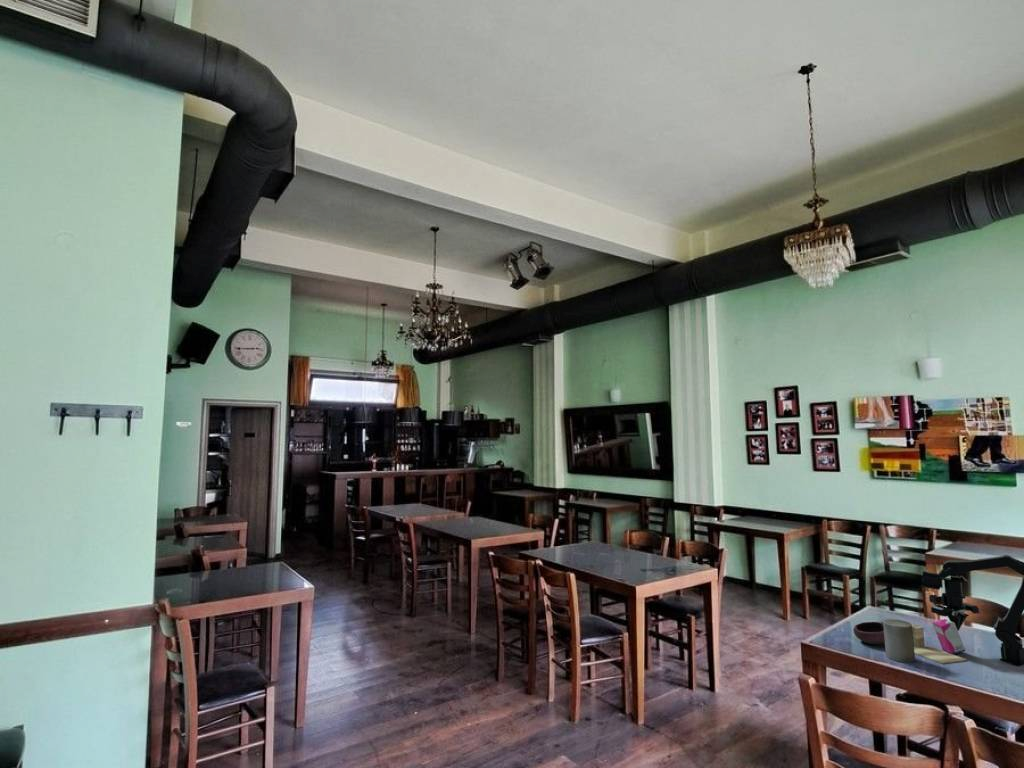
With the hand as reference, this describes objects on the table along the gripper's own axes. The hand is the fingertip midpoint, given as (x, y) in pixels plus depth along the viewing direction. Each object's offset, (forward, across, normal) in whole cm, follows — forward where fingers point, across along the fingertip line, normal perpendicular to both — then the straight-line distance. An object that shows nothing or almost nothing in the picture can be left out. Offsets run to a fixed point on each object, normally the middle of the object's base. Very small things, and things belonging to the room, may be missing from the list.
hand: (956, 630), depth 227 cm
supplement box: (+8, +2, 0) cm, 8 cm away
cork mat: (+8, +13, +1) cm, 15 cm away
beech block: (+8, +10, -9) cm, 16 cm away
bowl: (+9, +25, -17) cm, 31 cm away
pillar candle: (+8, +30, 0) cm, 31 cm away
